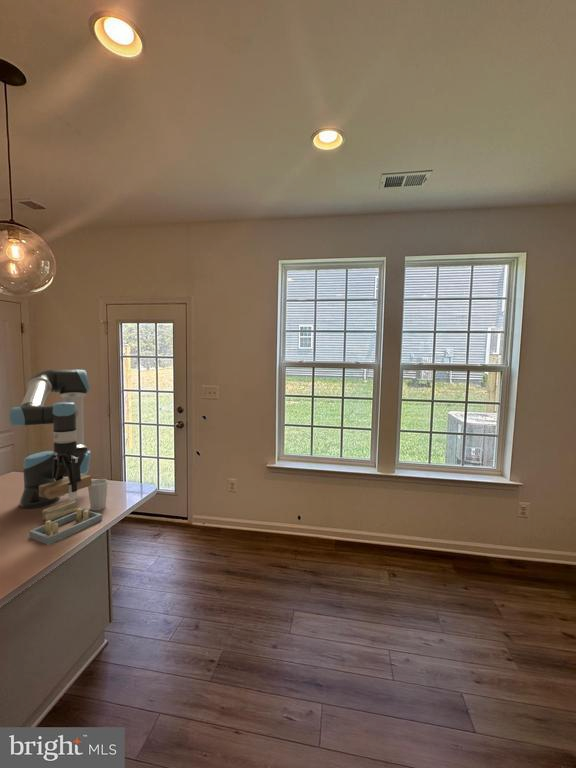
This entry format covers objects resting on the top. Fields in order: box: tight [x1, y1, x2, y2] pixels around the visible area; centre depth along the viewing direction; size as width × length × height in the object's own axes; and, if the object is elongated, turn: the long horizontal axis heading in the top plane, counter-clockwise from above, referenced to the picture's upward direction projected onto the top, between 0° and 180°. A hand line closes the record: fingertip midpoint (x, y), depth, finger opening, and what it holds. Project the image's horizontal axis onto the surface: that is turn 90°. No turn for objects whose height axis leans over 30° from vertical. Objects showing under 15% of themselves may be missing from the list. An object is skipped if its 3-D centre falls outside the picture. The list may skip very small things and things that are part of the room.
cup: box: [87, 478, 108, 511], centre depth 149 cm, size 8×8×12 cm
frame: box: [28, 507, 103, 546], centre depth 130 cm, size 12×21×5 cm, turn 156°
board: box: [39, 473, 92, 499], centre depth 129 cm, size 7×16×4 cm, turn 156°
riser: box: [41, 499, 78, 522], centre depth 142 cm, size 4×12×4 cm, turn 156°
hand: (66, 497), depth 129 cm, fingers closed on board, 7 cm apart
